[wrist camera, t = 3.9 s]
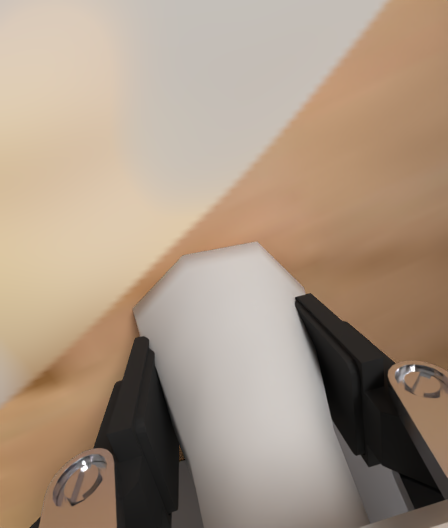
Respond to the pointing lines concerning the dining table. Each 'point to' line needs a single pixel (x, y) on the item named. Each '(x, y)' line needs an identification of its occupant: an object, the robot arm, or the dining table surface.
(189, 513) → the slate block
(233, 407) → the flask
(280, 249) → the dining table surface
